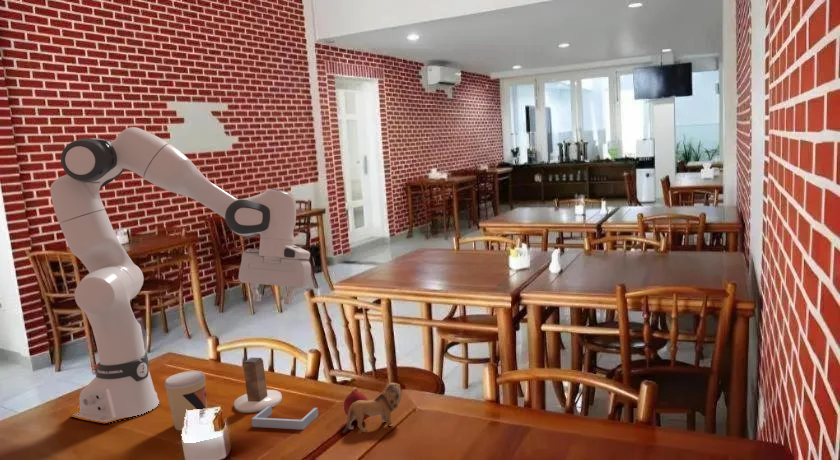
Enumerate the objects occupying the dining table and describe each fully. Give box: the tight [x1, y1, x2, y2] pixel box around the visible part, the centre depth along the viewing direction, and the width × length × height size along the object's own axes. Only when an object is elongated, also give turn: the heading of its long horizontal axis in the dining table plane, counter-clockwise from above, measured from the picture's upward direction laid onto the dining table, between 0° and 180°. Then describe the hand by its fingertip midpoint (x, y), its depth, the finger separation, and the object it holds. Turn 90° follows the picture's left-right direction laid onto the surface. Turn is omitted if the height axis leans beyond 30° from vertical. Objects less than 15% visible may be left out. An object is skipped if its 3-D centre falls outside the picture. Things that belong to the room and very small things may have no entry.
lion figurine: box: [342, 382, 403, 433], centre depth 143 cm, size 15×5×9 cm, turn 114°
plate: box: [233, 389, 283, 414], centre depth 165 cm, size 12×12×1 cm
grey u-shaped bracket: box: [250, 406, 319, 431], centre depth 151 cm, size 14×8×2 cm, turn 72°
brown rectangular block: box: [242, 357, 268, 402], centre depth 164 cm, size 4×4×10 cm
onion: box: [343, 387, 369, 422], centre depth 147 cm, size 6×6×8 cm
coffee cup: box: [164, 370, 208, 431], centre depth 155 cm, size 9×9×12 cm
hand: (272, 302), depth 168 cm, fingers open, 8 cm apart
